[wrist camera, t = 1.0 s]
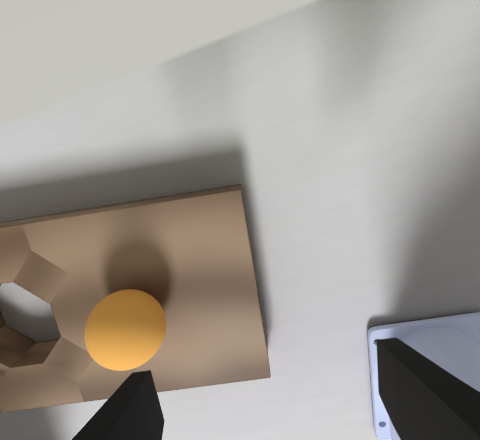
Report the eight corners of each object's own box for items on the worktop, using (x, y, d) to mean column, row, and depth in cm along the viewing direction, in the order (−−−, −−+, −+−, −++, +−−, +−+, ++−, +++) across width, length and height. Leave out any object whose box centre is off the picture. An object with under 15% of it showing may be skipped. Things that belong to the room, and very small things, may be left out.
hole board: (267, 351, 21) (270, 377, 19) (-1, 386, 22) (-31, 416, 20) (240, 184, 18) (240, 189, 16) (-66, 233, 19) (-110, 245, 17)
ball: (179, 332, 18) (162, 384, 14) (115, 341, 18) (81, 394, 14) (165, 272, 17) (142, 309, 13) (98, 282, 17) (55, 321, 13)
